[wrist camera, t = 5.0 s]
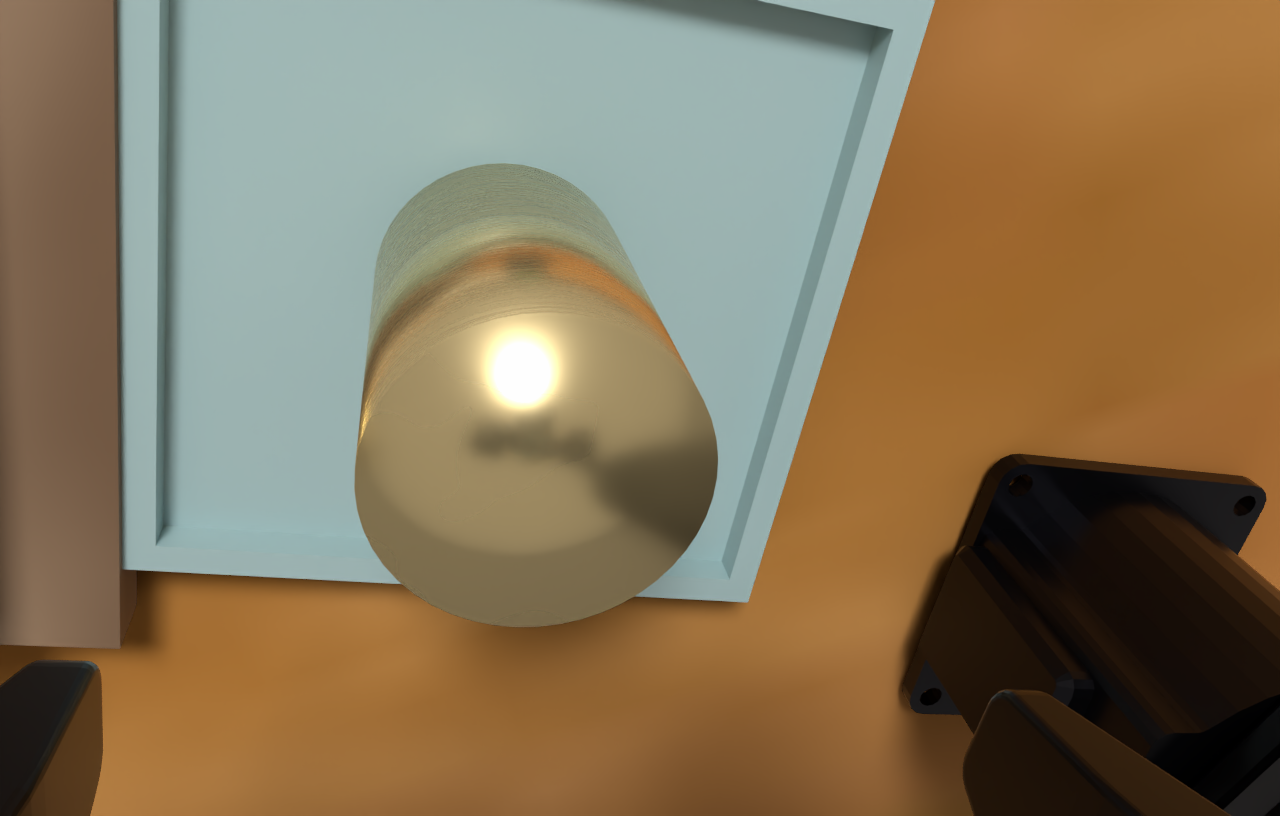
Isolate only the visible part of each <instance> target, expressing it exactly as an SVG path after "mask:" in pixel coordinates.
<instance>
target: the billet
mask: <svg viewBox="0 0 1280 816" xmlns="http://www.w3.org/2000/svg"><path fill="white" fill-rule="evenodd" d="M717 471H718V450H717V440H716V435H715V431H714V427H713V423H712V419H711V416H710V414H709V412H708V409H707V407H706V405H705V402H704V400H703V398H702V396H701V394H700V392H699V390H698V388H697V387H696V385H695V383H694V381H693V379H692V377H691V375H690V373H689V371H688V370H687V368H686V366H685V364H684V362H683V360H682V358H681V356H680V354H679V353H678V351H677V349H676V347H675V345H674V343H673V341H672V339H671V337H670V335H669V334H668V332H667V330H666V328H665V326H664V324H663V322H662V320H661V318H660V317H659V315H658V313H657V311H656V309H655V307H654V305H653V303H652V301H651V299H650V298H649V296H648V294H647V292H646V290H645V288H644V286H643V284H642V282H641V281H640V279H639V277H638V275H637V273H636V271H635V269H634V267H633V265H632V263H631V262H630V260H629V258H628V256H627V254H626V252H625V250H624V248H623V246H622V245H621V243H620V241H619V239H618V237H617V235H616V233H615V231H614V229H613V228H612V226H611V224H610V223H609V221H608V219H607V218H606V216H605V215H604V213H603V212H602V211H601V210H600V209H599V207H598V206H597V205H596V204H595V203H594V202H593V201H592V200H591V199H590V198H589V197H588V196H587V195H586V194H585V193H584V192H583V191H581V190H580V189H578V188H577V187H576V186H574V185H573V184H571V183H570V182H568V181H566V180H564V179H562V178H560V177H559V176H557V175H555V174H552V173H549V172H547V171H544V170H541V169H538V168H534V167H529V166H525V165H518V164H507V163H499V164H484V165H478V166H472V167H468V168H465V169H462V170H458V171H455V172H452V173H450V174H448V175H446V176H444V177H441V178H439V179H437V180H436V181H434V182H433V183H431V184H429V185H428V186H426V187H425V188H423V189H422V190H421V191H420V192H418V193H417V194H416V195H415V196H414V197H412V198H411V199H410V200H409V201H408V202H407V203H406V205H405V206H404V207H403V208H402V209H401V210H400V211H399V212H398V214H397V215H396V217H395V218H394V220H393V221H392V223H391V224H390V226H389V228H388V230H387V232H386V234H385V236H384V238H383V240H382V243H381V246H380V249H379V252H378V256H377V261H376V267H375V274H374V284H373V294H372V304H371V314H370V323H369V333H368V343H367V353H366V363H365V373H364V383H363V392H362V402H361V412H360V422H359V432H358V442H357V452H356V461H355V481H354V491H355V498H356V506H357V511H358V515H359V518H360V521H361V525H362V528H363V531H364V533H365V535H366V537H367V539H368V541H369V543H370V545H371V547H372V549H373V551H374V552H375V554H376V555H377V556H378V558H379V559H380V561H381V562H382V564H383V565H384V566H385V567H386V568H387V570H388V571H389V572H390V573H391V574H392V575H393V576H394V577H395V578H396V579H397V580H398V581H399V582H400V583H401V584H402V585H404V586H405V587H406V588H407V589H408V590H410V591H411V592H412V593H413V594H415V595H416V596H418V597H420V598H421V599H423V600H424V601H426V602H428V603H429V604H431V605H433V606H435V607H437V608H439V609H441V610H444V611H446V612H448V613H450V614H453V615H456V616H459V617H462V618H465V619H468V620H471V621H476V622H480V623H485V624H490V625H498V626H508V627H540V626H549V625H558V624H563V623H567V622H572V621H577V620H581V619H584V618H587V617H590V616H593V615H596V614H599V613H602V612H604V611H606V610H609V609H611V608H613V607H615V606H618V605H620V604H622V603H623V602H625V601H627V600H629V599H630V598H632V597H634V596H636V595H637V594H639V593H640V592H642V591H643V590H645V589H646V588H647V587H649V586H650V585H652V584H653V583H654V582H656V581H657V580H658V579H659V578H660V577H661V576H662V575H664V574H665V573H666V572H667V571H668V570H669V569H670V568H671V567H672V566H673V565H674V564H675V563H676V562H677V560H678V559H679V558H680V557H681V556H682V555H683V554H684V552H685V551H686V550H687V548H688V547H689V546H690V544H691V543H692V541H693V540H694V538H695V537H696V535H697V534H698V532H699V530H700V528H701V526H702V524H703V522H704V520H705V518H706V516H707V513H708V510H709V508H710V505H711V502H712V499H713V495H714V491H715V486H716V481H717Z"/></svg>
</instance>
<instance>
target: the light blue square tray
mask: <svg viewBox="0 0 1280 816" xmlns="http://www.w3.org/2000/svg"><path fill="white" fill-rule="evenodd" d="M934 2H935V1H933V0H117V38H118V145H119V253H120V360H121V467H122V569H127V570H146V571H164V572H183V573H202V574H221V575H240V576H259V577H278V578H297V579H316V580H335V581H353V582H372V583H391V584H401V583H400V582H399V581H398V580H397V579H396V578H395V577H394V576H393V575H392V574H391V573H390V572H389V571H388V570H387V568H386V567H385V566H384V565H383V564H382V562H381V561H380V559H379V558H378V556H377V555H376V554H375V552H374V551H373V549H372V547H371V545H370V543H369V541H368V539H367V537H366V535H365V533H364V531H363V528H362V525H361V521H360V518H359V515H358V511H357V506H356V498H355V491H354V481H355V461H356V452H357V442H358V432H359V422H360V412H361V402H362V392H363V383H364V373H365V363H366V353H367V343H368V333H369V323H370V314H371V304H372V294H373V284H374V274H375V267H376V261H377V256H378V252H379V249H380V246H381V243H382V240H383V238H384V236H385V234H386V232H387V230H388V228H389V226H390V224H391V223H392V221H393V220H394V218H395V217H396V215H397V214H398V212H399V211H400V210H401V209H402V208H403V207H404V206H405V205H406V203H407V202H408V201H409V200H410V199H411V198H412V197H414V196H415V195H416V194H417V193H418V192H420V191H421V190H422V189H423V188H425V187H426V186H428V185H429V184H431V183H433V182H434V181H436V180H437V179H439V178H441V177H444V176H446V175H448V174H450V173H452V172H455V171H458V170H462V169H465V168H468V167H472V166H478V165H484V164H499V163H507V164H518V165H525V166H529V167H534V168H538V169H541V170H544V171H547V172H549V173H552V174H555V175H557V176H559V177H560V178H562V179H564V180H566V181H568V182H570V183H571V184H573V185H574V186H576V187H577V188H578V189H580V190H581V191H583V192H584V193H585V194H586V195H587V196H588V197H589V198H590V199H591V200H592V201H593V202H594V203H595V204H596V205H597V206H598V207H599V209H600V210H601V211H602V212H603V213H604V215H605V216H606V218H607V219H608V221H609V223H610V224H611V226H612V228H613V229H614V231H615V233H616V235H617V237H618V239H619V241H620V243H621V245H622V246H623V248H624V250H625V252H626V254H627V256H628V258H629V260H630V262H631V263H632V265H633V267H634V269H635V271H636V273H637V275H638V277H639V279H640V281H641V282H642V284H643V286H644V288H645V290H646V292H647V294H648V296H649V298H650V299H651V301H652V303H653V305H654V307H655V309H656V311H657V313H658V315H659V317H660V318H661V320H662V322H663V324H664V326H665V328H666V330H667V332H668V334H669V335H670V337H671V339H672V341H673V343H674V345H675V347H676V349H677V351H678V353H679V354H680V356H681V358H682V360H683V362H684V364H685V366H686V368H687V370H688V371H689V373H690V375H691V377H692V379H693V381H694V383H695V385H696V387H697V388H698V390H699V392H700V394H701V396H702V398H703V400H704V402H705V405H706V407H707V409H708V412H709V414H710V416H711V419H712V423H713V427H714V431H715V435H716V440H717V450H718V471H717V481H716V486H715V491H714V495H713V499H712V502H711V505H710V508H709V510H708V513H707V516H706V518H705V520H704V522H703V524H702V526H701V528H700V530H699V532H698V534H697V535H696V537H695V538H694V540H693V541H692V543H691V544H690V546H689V547H688V548H687V550H686V551H685V552H684V554H683V555H682V556H681V557H680V558H679V559H678V560H677V562H676V563H675V564H674V565H673V566H672V567H671V568H670V569H669V570H668V571H667V572H666V573H665V574H664V575H662V576H661V577H660V578H659V579H658V580H657V581H656V582H654V583H653V584H652V585H650V586H649V587H647V588H646V589H645V590H643V591H642V592H640V593H639V594H637V595H636V596H637V597H656V598H675V599H694V600H712V601H731V602H748V600H749V597H750V594H751V591H752V587H753V584H754V581H755V578H756V575H757V571H758V568H759V565H760V562H761V558H762V555H763V552H764V549H765V546H766V542H767V539H768V536H769V533H770V530H771V526H772V523H773V520H774V517H775V513H776V510H777V507H778V504H779V501H780V497H781V494H782V491H783V488H784V485H785V481H786V478H787V475H788V472H789V468H790V465H791V462H792V459H793V456H794V452H795V449H796V446H797V443H798V439H799V436H800V433H801V430H802V427H803V423H804V420H805V417H806V414H807V411H808V407H809V404H810V401H811V398H812V394H813V391H814V388H815V385H816V382H817V378H818V375H819V372H820V369H821V366H822V362H823V359H824V356H825V353H826V349H827V346H828V343H829V340H830V337H831V333H832V330H833V327H834V324H835V320H836V317H837V314H838V311H839V308H840V304H841V301H842V298H843V295H844V292H845V288H846V285H847V282H848V279H849V275H850V272H851V269H852V266H853V263H854V259H855V256H856V253H857V250H858V247H859V243H860V240H861V237H862V234H863V230H864V227H865V224H866V221H867V218H868V214H869V211H870V208H871V205H872V201H873V198H874V195H875V192H876V189H877V185H878V182H879V179H880V176H881V173H882V169H883V166H884V163H885V160H886V156H887V153H888V150H889V147H890V144H891V140H892V137H893V134H894V131H895V128H896V124H897V121H898V118H899V115H900V111H901V108H902V105H903V102H904V99H905V95H906V92H907V89H908V86H909V82H910V79H911V76H912V73H913V70H914V66H915V63H916V60H917V57H918V54H919V50H920V47H921V44H922V41H923V37H924V34H925V31H926V28H927V25H928V21H929V18H930V15H931V12H932V9H933V5H934Z"/></svg>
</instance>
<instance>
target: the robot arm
mask: <svg viewBox="0 0 1280 816" xmlns="http://www.w3.org/2000/svg"><path fill="white" fill-rule="evenodd" d="M1019 475H1022V477H1021V478H1020V479H1019V481H1018V482H1016V483H1015V484H1013V485H1010V486H1009V484H1010V483H1011V481H1012V480H1013V479H1014V478H1016V477H1017V476H1019ZM1265 502H1266V493H1265V492H1264V490H1263V489H1262V488H1261V487H1260V486H1258V485H1257V484H1255V483H1254V482H1253V481H1251V480H1250V479H1249V478H1246V477H1243V476H1236V475H1226V474H1216V473H1206V472H1196V471H1186V470H1176V469H1166V468H1156V467H1146V466H1136V465H1126V464H1116V463H1106V462H1096V461H1086V460H1076V459H1066V458H1056V457H1046V456H1036V455H1026V454H1012V455H1009V456H1006V457H1004V458H1002V459H1001V460H999V461H998V462H997V463H996V464H995V465H994V466H993V468H992V469H991V471H990V472H989V474H988V477H987V479H986V482H985V484H984V487H983V489H982V492H981V494H980V497H979V499H978V501H977V504H976V506H975V509H974V511H973V514H972V516H971V519H970V521H969V524H968V526H967V528H966V531H965V533H964V536H963V538H962V541H961V543H960V546H959V548H958V551H957V553H956V555H955V556H954V559H953V561H952V564H951V566H950V568H949V571H948V573H947V576H946V578H945V581H944V583H943V586H942V588H941V591H940V593H939V595H938V598H937V600H936V603H935V605H934V608H933V610H932V613H931V615H930V618H929V620H928V623H927V625H926V627H925V630H924V632H923V635H922V637H921V640H920V642H919V646H918V649H917V651H916V654H915V656H914V658H913V661H912V663H911V666H910V668H909V671H908V673H907V676H906V678H905V681H904V683H903V688H902V691H903V694H904V696H905V698H906V700H907V702H908V703H909V705H910V707H911V708H912V709H913V710H914V711H915V712H917V713H922V714H950V715H962V716H963V718H964V720H965V721H966V723H967V724H968V726H969V727H970V729H971V731H972V732H973V734H974V736H973V738H972V741H971V743H970V745H969V747H968V749H967V752H966V754H965V757H964V762H963V780H964V785H965V789H966V793H967V796H968V799H969V802H970V805H971V808H972V811H973V814H974V816H1280V591H1279V590H1278V589H1277V588H1275V587H1274V586H1273V585H1272V584H1271V583H1270V582H1268V581H1267V580H1266V579H1265V578H1264V577H1263V576H1261V575H1260V574H1259V573H1258V572H1257V571H1256V570H1254V569H1253V568H1252V567H1251V566H1250V565H1248V564H1247V563H1246V562H1245V561H1244V560H1243V559H1241V558H1240V557H1239V556H1238V553H1239V551H1240V550H1241V548H1242V546H1243V544H1244V542H1245V541H1246V539H1247V537H1248V535H1249V533H1250V531H1251V530H1252V528H1253V526H1254V524H1255V522H1256V520H1257V519H1258V517H1259V515H1260V513H1261V511H1262V510H1263V508H1264V505H1265ZM928 689H929V690H928ZM926 690H928V691H926ZM925 691H926V692H925ZM102 754H103V728H102V682H101V673H100V670H99V668H98V666H97V665H95V664H94V663H92V662H90V661H68V660H38V661H35V662H32V663H30V664H28V665H26V666H25V667H23V668H22V669H21V670H20V671H18V672H17V673H16V674H15V675H13V676H12V677H11V678H10V679H8V680H7V681H6V682H4V683H3V684H2V685H1V686H0V816H90V814H91V810H92V806H93V802H94V798H95V794H96V790H97V786H98V781H99V776H100V771H101V764H102Z"/></svg>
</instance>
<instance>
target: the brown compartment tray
mask: <svg viewBox="0 0 1280 816" xmlns="http://www.w3.org/2000/svg"><path fill="white" fill-rule="evenodd" d="M136 605H137V570H127V569H122V467H121V360H120V253H119V145H118V38H117V0H0V645H23V646H52V647H81V648H110V649H120V648H121V645H122V643H123V640H124V637H125V635H126V632H127V629H128V627H129V624H130V621H131V619H132V616H133V613H134V611H135V608H136Z"/></svg>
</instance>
